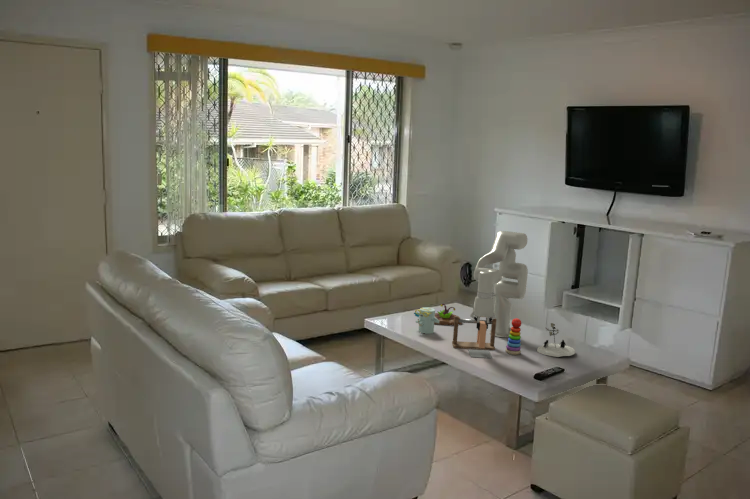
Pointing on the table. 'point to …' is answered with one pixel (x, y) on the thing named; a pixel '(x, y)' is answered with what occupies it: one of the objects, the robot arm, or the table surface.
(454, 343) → the rack
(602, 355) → the table surface
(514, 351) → the stacking toy
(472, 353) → the mat
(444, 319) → the plant
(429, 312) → the character sculpture
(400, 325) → the table surface
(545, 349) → the figurine
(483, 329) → the tall peach block
